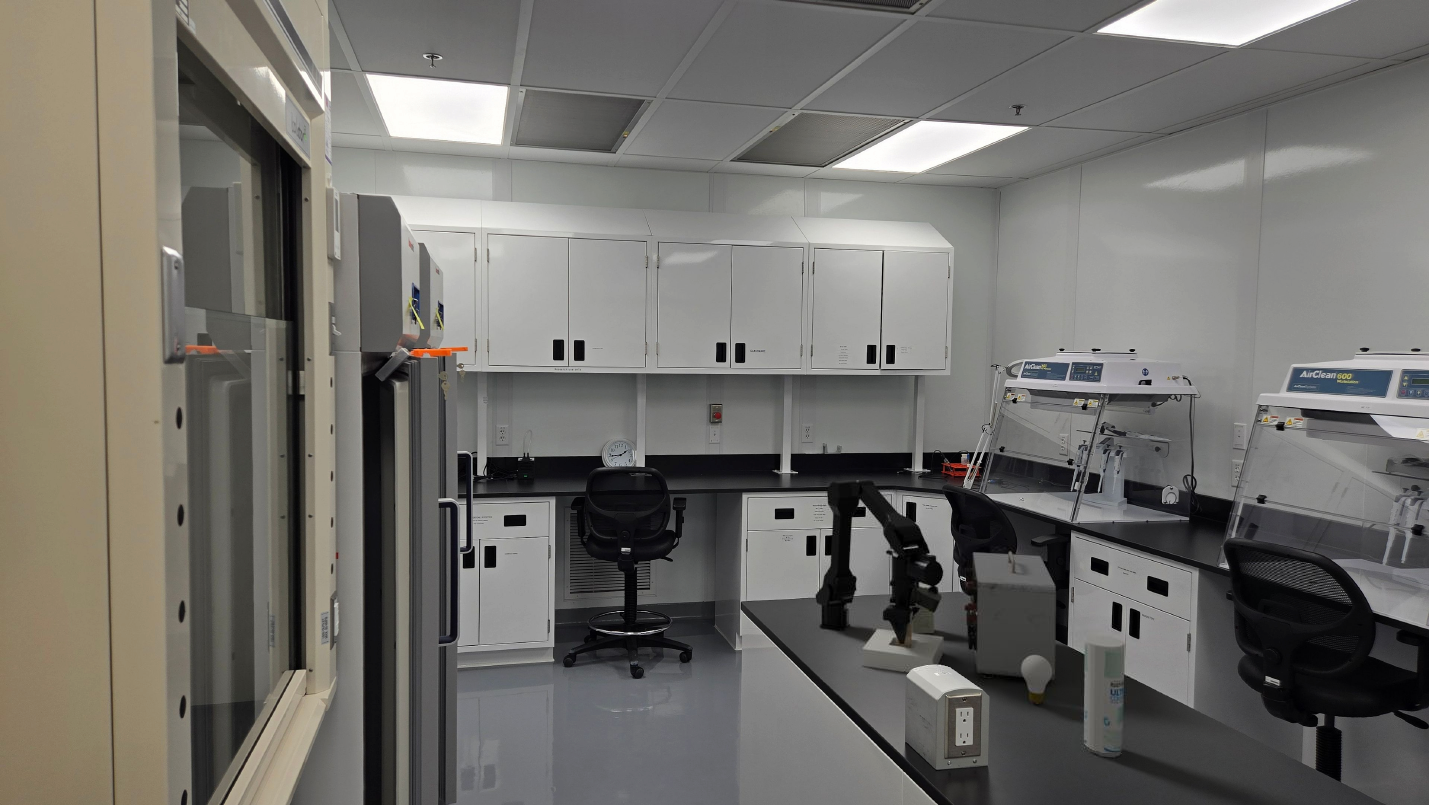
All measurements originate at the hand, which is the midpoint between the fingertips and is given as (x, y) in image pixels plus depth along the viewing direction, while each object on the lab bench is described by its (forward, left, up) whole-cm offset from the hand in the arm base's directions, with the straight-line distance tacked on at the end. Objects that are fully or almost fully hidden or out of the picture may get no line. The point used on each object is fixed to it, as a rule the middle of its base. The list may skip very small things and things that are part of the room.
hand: (903, 641), depth 194 cm
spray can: (+42, -32, -5) cm, 53 cm away
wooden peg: (0, 0, -4) cm, 4 cm away
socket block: (0, 0, -4) cm, 4 cm away
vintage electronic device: (+22, +10, -5) cm, 25 cm away
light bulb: (+30, -15, -5) cm, 34 cm away
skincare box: (0, +23, -5) cm, 23 cm away
